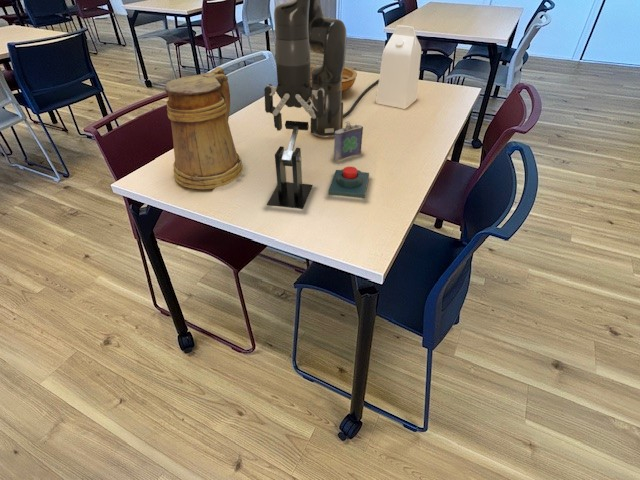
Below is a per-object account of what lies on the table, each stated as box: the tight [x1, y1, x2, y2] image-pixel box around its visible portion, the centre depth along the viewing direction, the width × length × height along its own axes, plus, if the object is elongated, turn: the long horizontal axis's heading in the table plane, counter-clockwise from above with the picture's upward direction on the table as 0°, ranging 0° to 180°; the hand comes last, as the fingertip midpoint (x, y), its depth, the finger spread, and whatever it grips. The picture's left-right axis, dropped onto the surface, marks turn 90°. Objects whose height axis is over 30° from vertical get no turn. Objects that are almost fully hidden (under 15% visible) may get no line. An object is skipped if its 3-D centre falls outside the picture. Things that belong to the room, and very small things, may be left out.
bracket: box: [266, 146, 314, 210], centre depth 91 cm, size 11×9×13 cm
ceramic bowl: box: [310, 64, 358, 93], centre depth 153 cm, size 30×24×8 cm
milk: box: [375, 24, 422, 110], centre depth 140 cm, size 12×12×26 cm
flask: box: [333, 121, 364, 161], centre depth 108 cm, size 9×3×11 cm, turn 121°
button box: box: [328, 168, 370, 199], centre depth 97 cm, size 11×9×4 cm
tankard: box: [164, 66, 244, 190], centre depth 99 cm, size 18×24×25 cm
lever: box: [282, 120, 310, 168], centre depth 90 cm, size 12×6×2 cm, turn 168°
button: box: [343, 166, 358, 179], centre depth 96 cm, size 4×4×2 cm
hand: (296, 130), depth 93 cm, fingers open, 8 cm apart
